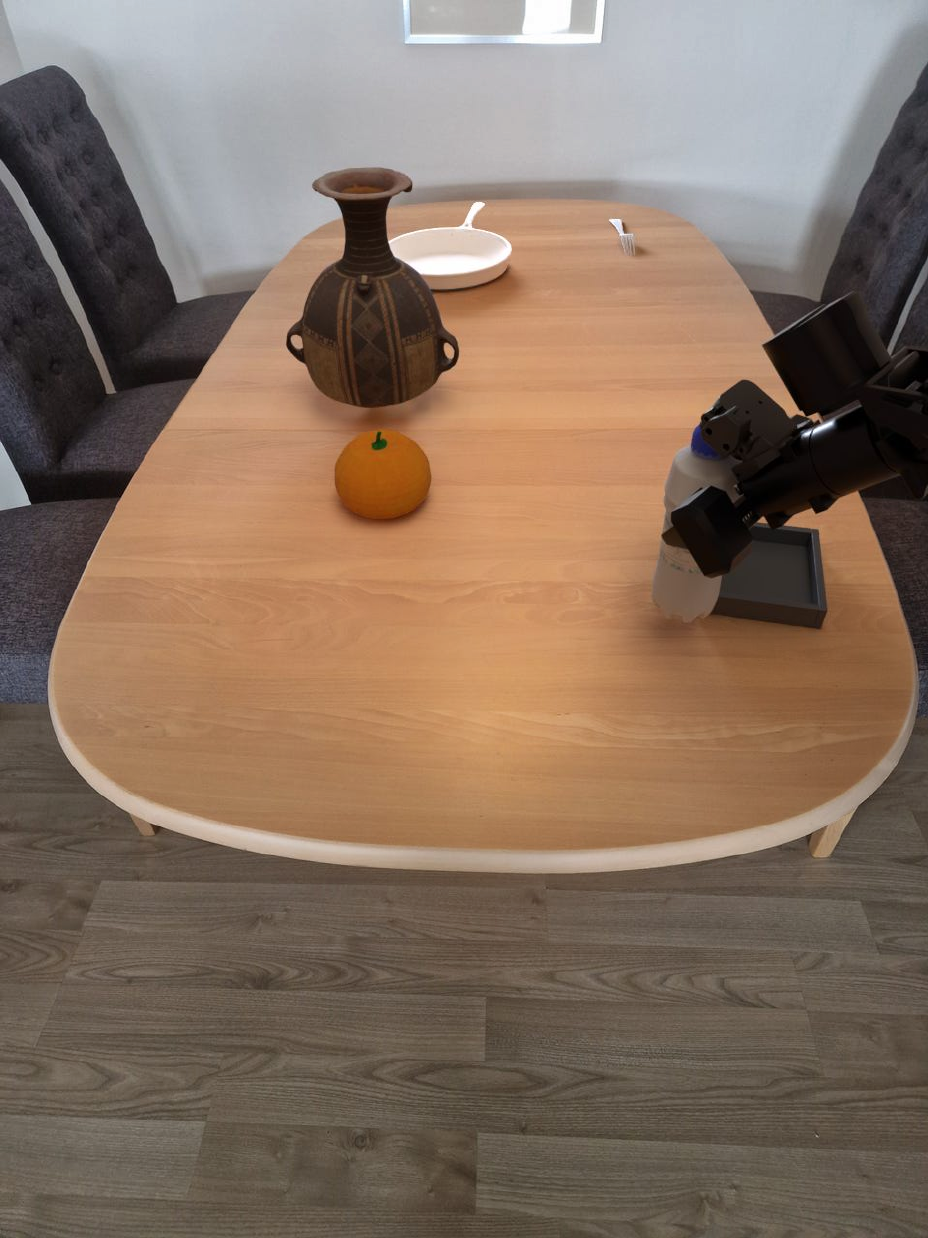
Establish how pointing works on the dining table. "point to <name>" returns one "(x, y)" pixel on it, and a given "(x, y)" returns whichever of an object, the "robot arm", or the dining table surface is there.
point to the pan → (454, 254)
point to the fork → (624, 235)
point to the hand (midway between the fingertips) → (684, 522)
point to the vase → (370, 305)
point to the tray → (777, 579)
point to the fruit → (382, 474)
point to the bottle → (676, 570)
